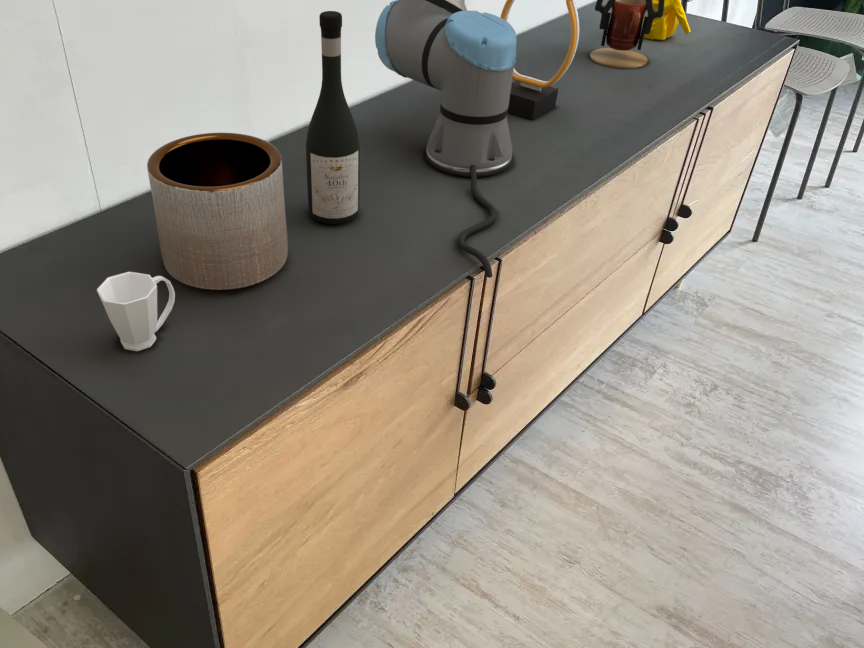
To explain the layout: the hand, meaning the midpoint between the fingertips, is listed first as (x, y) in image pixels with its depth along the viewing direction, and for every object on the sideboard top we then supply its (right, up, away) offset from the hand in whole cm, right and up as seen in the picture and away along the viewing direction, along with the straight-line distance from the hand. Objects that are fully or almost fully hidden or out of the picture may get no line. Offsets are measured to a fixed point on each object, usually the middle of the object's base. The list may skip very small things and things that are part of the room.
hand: (621, 46), depth 180 cm
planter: (-78, -60, -67) cm, 119 cm away
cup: (-86, -71, -80) cm, 137 cm away
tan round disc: (0, -2, +2) cm, 3 cm away
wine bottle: (-64, -51, -56) cm, 99 cm away
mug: (0, -1, 0) cm, 1 cm away
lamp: (-26, -22, -21) cm, 40 cm away
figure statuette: (+14, +8, +15) cm, 22 cm away
